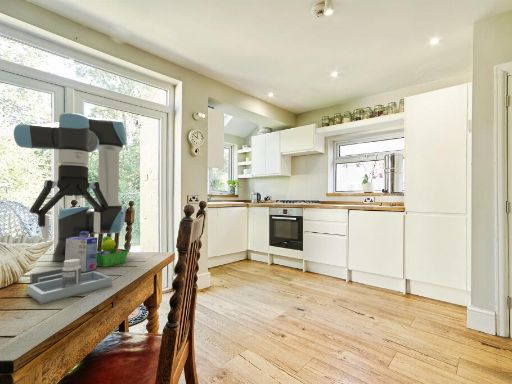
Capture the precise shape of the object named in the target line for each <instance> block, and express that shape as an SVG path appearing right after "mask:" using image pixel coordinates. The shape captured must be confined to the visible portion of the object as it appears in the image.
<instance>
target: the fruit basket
mask: <svg viewBox="0 0 512 384" xmlns="http://www.w3.org/2000/svg"><path fill="white" fill-rule="evenodd" d="M100 244H101V246H100V247H101V251H97V266H99V267H103V268H105V267H106V268H107V267H109V266H114V265H119V264H123V263H125V262H126V260H127V257H128V253H129V252H130V251H129V250H130V249H129V250H128V249H125V248H115V246H117V242H116V241H115V240H114V239H113V238H112V237H111V236H108V235H107V236H104V237H103V238H102V242H101V243H100Z"/></svg>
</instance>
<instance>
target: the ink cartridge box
mask: <svg viewBox="0 0 512 384" xmlns="http://www.w3.org/2000/svg"><path fill="white" fill-rule="evenodd" d="M82 233H86V235H81V234H82ZM88 233H89V231H81V233H80V234H79V237H72V238H67V239H66V251H65V260H70V259H80V264H79V265H80V266H81V272H85V273H86V272H90V271H92V270H93V271H94V270H96V269H97V266H98V265H97V252H98V237H96V236H95V237H94V236H93V237H92V236H89V237H87V235H88Z"/></svg>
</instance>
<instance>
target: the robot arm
mask: <svg viewBox="0 0 512 384" xmlns="http://www.w3.org/2000/svg"><path fill="white" fill-rule="evenodd" d="M13 138H14V139H13V140H14V141H15V144H16V145H17V146H19V147H20V148H26V149H27V148H28V149H32V150H33V149H41V150H58V159H57V160H58V161H57V162H58V164H59V166H58V170H57V171H58V172H57V173H58V174H57V176H58V178H57V180H56V181H55V180H51V179H49V180H48V179H46V180H45V181H44V184H43V188H42V190H41V191H40V192H39V195H38V196H37V198H36V200H35V201H34V203H33V204H32V206H30V208H29V213H31V214H35V215H37V226H38V227H39V228H40V227H42V228H41V235H42V236H41V238H42V239H45V240H46V239H49V238H50V237H49V236H50V214H47V213H48V212H49V211H50V210H51V209H52V208H53V207H55V205H56V204H57V203H58V202H59V201H61V199H62V198H64V197H65V196H66V197H67V196H68V197H73V196H76V197H80V196H81V197H82V198H83V199H85V200H86V201H87V202H88V204H90V205H91V207H92V208H90V206H89V205H85V206H76V207H68V208H61V209H60V210H59V211H58V218H57V232H58V233H57V244H56V246H55V249H54V251H53V253H52V261H54V262H64V261H65V251H66V239H67V238H72V237H79V234H80V233H81V231H89V233H88V235H87V237H90V235H95V234H96V235H97V234H99V235H100V234H101V235H102V234H103V235H104V234H108V235H109V234H118V233H120V232H122V230H123V228H124V224H125V221H126V220H125V219H126V208H123V204H122V203H121V202H120V201H119V197H120V195H119V193H120V192H119V189H120V188H119V186H120V185H119V184H120V182H119V180H120V178H119V177H120V152H121V151H122V150H123V148H124V146H127V133H126V128H125V124H124V122H123V121H122V120H119V119H113V118H112V119H111V118H110V119H109V118H108V119H107V118H96V117H95V118H94V117H87V116H86V115H83V114H80V113H74V112H62V113H61V114H60V115H59V119H58V122H54V123H53V122H51V123H47V124H46V123H45V124H30V123H25V124H24V123H23V124H22V123H19V124H17V125H16V126H15V127H14V129H13ZM96 150H97V151H98V161H97V162H98V167H97V169H98V170H97V172H98V175H97V181H93V182H89V167H88V166H87V165H89V153H93V152H95V151H96ZM55 187H57V189H59V190H58V191H57V192H56V193H55V195H54V196H52V197H51V198H50V199H49V200H48V201H47V202H46V203H45V201H46V200H47V198H48V196H49V194H50V193H51V191H52V189H54V188H55ZM89 187H90V190H91V189H92V191H93V193H94V196H95V197H96V199H97V200H96V199H95V198H94V197H93V196H92V195H91V193H90V192H89V191H88V189H89ZM44 203H45V204H44ZM43 204H44V205H43ZM42 205H43V206H42ZM81 235H86V233H82V234H81Z"/></svg>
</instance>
